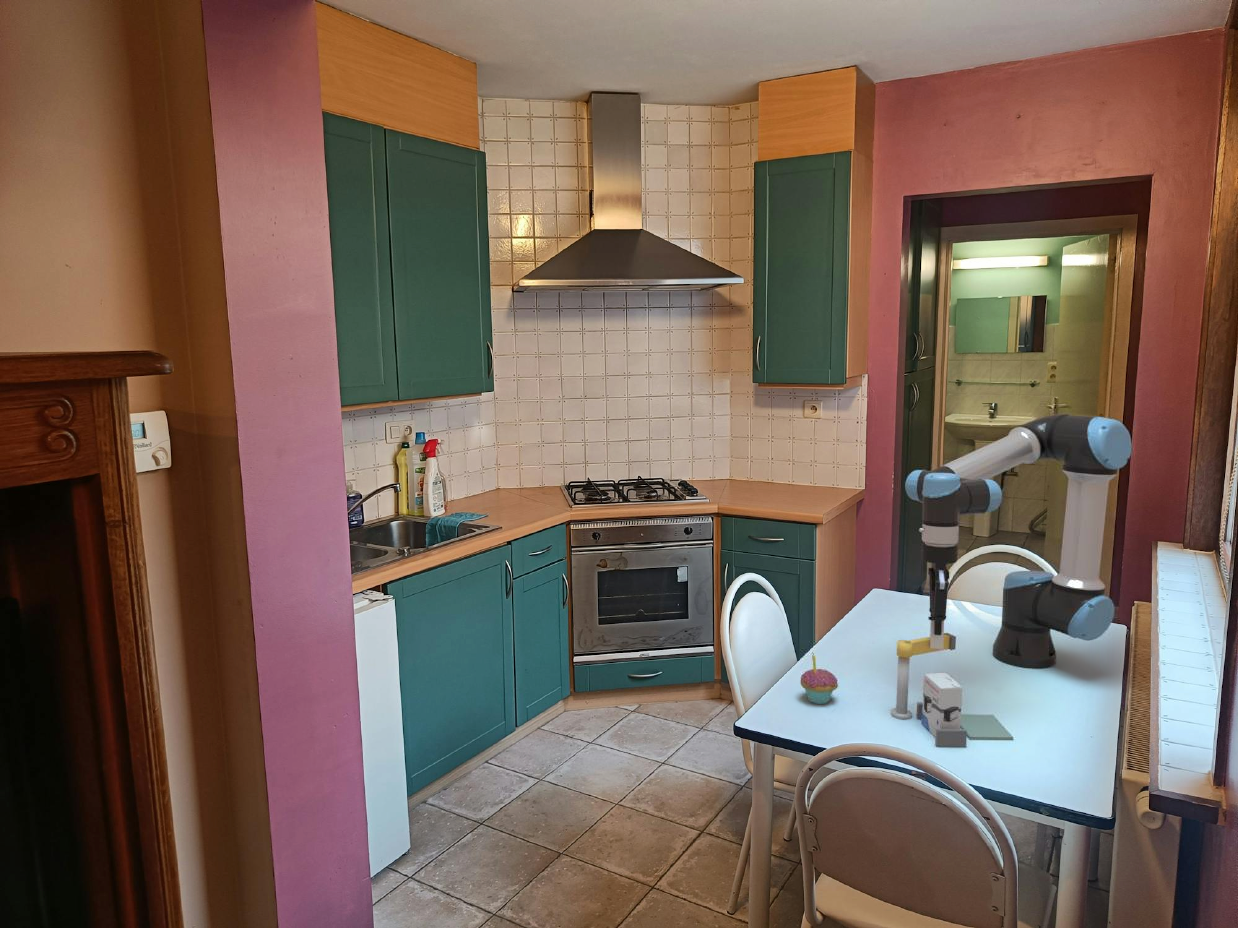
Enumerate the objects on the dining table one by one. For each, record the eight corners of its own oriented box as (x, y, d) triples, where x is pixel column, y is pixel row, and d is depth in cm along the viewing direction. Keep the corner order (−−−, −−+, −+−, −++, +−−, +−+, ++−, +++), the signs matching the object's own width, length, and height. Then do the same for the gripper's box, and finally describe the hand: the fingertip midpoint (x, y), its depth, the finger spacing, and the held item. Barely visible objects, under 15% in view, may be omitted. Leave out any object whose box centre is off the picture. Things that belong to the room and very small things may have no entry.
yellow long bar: (903, 658, 190) (903, 645, 190) (893, 654, 193) (894, 641, 193) (955, 649, 196) (956, 636, 195) (945, 644, 199) (946, 632, 198)
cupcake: (815, 710, 197) (817, 659, 195) (792, 696, 205) (793, 647, 203) (844, 702, 201) (846, 653, 199) (820, 689, 209) (821, 641, 207)
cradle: (938, 711, 196) (941, 653, 194) (966, 747, 179) (969, 684, 177) (888, 710, 197) (891, 653, 195) (911, 746, 180) (914, 684, 178)
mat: (992, 717, 193) (992, 714, 193) (1013, 739, 182) (1013, 737, 182) (951, 716, 193) (952, 714, 193) (969, 739, 183) (969, 736, 182)
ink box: (920, 723, 190) (923, 672, 188) (942, 722, 191) (945, 671, 189) (938, 741, 182) (940, 688, 180) (960, 740, 182) (963, 687, 180)
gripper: (918, 537, 197) (915, 638, 200) (924, 548, 185) (921, 655, 188) (953, 538, 196) (950, 640, 198) (962, 549, 184) (958, 657, 186)
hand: (936, 647), depth 193 cm, fingers closed
